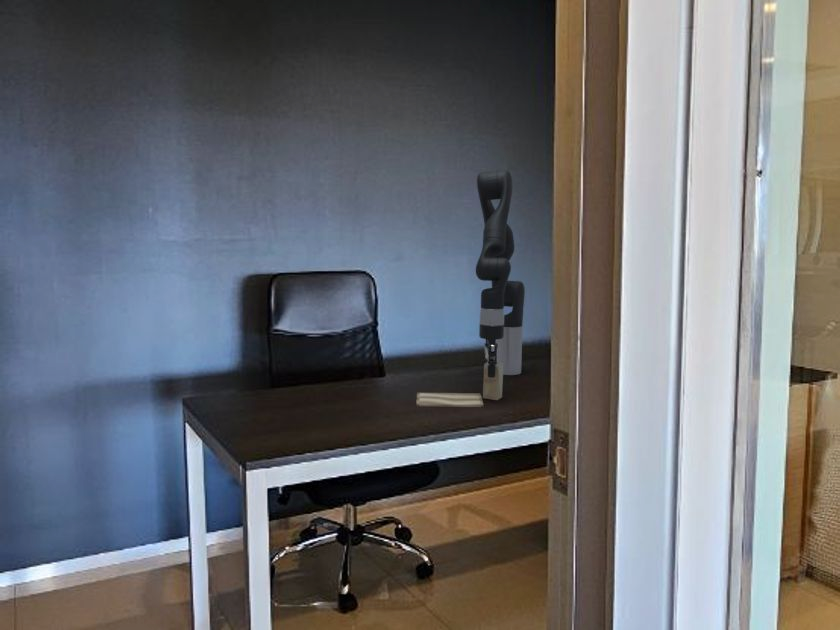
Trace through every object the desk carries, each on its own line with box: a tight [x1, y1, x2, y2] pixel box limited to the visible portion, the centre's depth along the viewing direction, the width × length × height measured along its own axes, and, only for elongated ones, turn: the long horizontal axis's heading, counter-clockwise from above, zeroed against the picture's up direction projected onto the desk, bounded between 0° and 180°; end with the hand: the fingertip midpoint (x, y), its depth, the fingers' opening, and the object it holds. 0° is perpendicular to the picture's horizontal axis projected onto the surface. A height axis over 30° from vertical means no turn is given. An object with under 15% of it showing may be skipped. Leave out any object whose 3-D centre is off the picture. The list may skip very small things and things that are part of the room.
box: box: [482, 362, 504, 401], centre depth 229 cm, size 5×4×11 cm
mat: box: [415, 392, 484, 408], centre depth 226 cm, size 14×20×1 cm
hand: (490, 374), depth 228 cm, fingers open, 8 cm apart
